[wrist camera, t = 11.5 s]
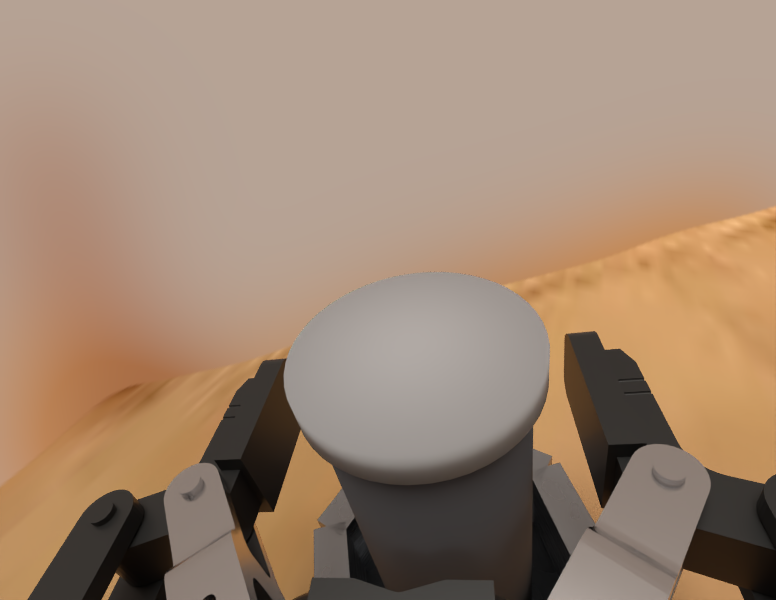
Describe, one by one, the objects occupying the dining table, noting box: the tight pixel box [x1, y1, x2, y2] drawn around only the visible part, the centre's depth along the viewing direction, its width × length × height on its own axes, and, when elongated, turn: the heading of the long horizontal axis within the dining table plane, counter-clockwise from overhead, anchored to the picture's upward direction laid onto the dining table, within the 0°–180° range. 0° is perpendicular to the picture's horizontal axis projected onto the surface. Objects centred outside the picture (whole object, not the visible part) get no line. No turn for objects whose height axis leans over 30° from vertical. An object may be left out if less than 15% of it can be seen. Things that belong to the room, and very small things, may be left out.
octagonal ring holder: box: [314, 449, 595, 600], centre depth 16 cm, size 11×11×4 cm
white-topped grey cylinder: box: [284, 272, 550, 600], centre depth 13 cm, size 6×6×12 cm
